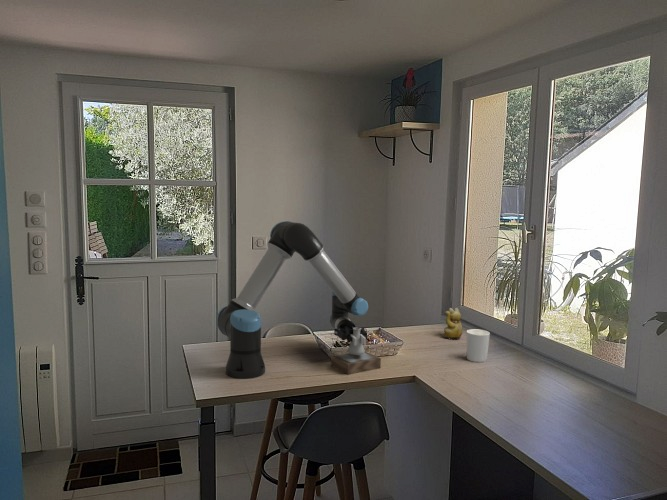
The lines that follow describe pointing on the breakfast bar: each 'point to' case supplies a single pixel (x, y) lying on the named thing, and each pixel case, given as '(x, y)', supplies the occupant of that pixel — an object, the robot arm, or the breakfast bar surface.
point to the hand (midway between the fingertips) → (360, 341)
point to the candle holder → (477, 345)
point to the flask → (359, 347)
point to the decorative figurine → (453, 324)
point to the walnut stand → (355, 362)
